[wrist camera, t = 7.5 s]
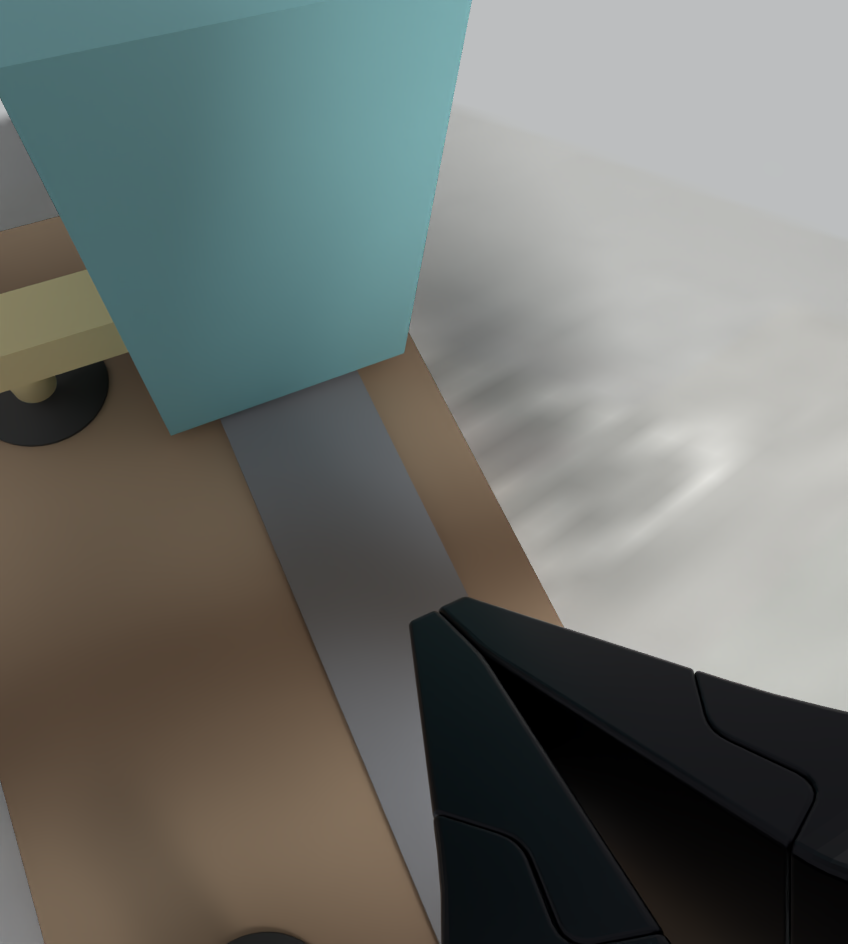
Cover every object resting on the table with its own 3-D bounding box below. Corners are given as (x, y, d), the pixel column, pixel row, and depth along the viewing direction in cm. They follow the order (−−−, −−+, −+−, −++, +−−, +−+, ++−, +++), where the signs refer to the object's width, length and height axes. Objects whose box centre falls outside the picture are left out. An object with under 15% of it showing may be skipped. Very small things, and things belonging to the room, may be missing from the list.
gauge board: (775, 1108, 13) (1018, 1305, 8) (258, 1512, 10) (202, 2115, 6) (314, 207, 19) (309, 35, 15) (-86, 321, 17) (-247, 156, 12)
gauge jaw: (404, 353, 15) (477, -30, 8) (42, 481, 13) (-331, 135, 6) (329, 209, 16) (330, -247, 9) (-14, 308, 14) (-387, -170, 7)
